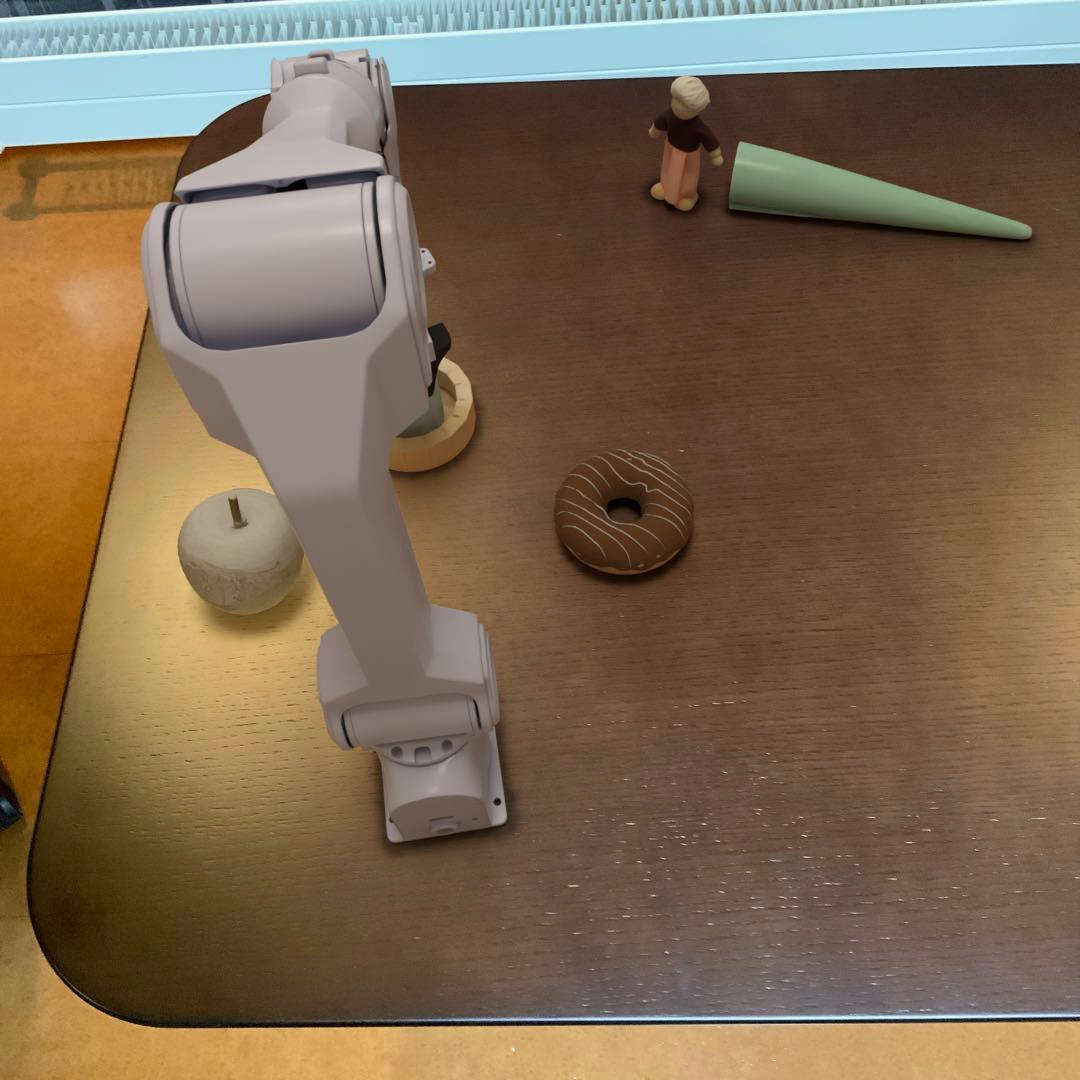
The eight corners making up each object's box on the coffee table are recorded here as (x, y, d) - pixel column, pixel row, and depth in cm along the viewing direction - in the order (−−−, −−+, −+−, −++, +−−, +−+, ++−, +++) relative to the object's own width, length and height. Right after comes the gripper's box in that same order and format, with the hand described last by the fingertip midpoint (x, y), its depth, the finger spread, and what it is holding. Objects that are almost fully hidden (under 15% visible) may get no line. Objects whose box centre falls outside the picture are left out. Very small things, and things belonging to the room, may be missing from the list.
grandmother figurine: (633, 199, 99) (638, 80, 88) (650, 173, 100) (657, 54, 89) (709, 224, 97) (723, 105, 86) (725, 197, 98) (741, 78, 87)
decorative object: (206, 644, 78) (157, 581, 69) (202, 544, 82) (156, 473, 73) (325, 620, 78) (291, 555, 69) (314, 522, 82) (281, 449, 74)
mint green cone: (1051, 213, 88) (732, 168, 92) (1028, 261, 92) (725, 216, 97) (1052, 169, 90) (742, 128, 95) (1030, 218, 95) (735, 177, 99)
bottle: (453, 404, 87) (437, 322, 78) (428, 449, 85) (409, 369, 76) (402, 388, 88) (381, 305, 79) (376, 431, 86) (351, 351, 77)
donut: (583, 603, 78) (582, 578, 74) (535, 491, 83) (533, 463, 79) (715, 558, 79) (721, 531, 76) (660, 451, 84) (663, 421, 81)
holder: (482, 461, 84) (479, 440, 82) (359, 481, 84) (352, 459, 82) (468, 366, 90) (464, 343, 87) (351, 384, 89) (344, 361, 87)
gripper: (467, 277, 66) (487, 409, 77) (382, 141, 72) (412, 281, 84) (362, 318, 64) (399, 445, 76) (286, 175, 71) (330, 312, 83)
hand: (400, 361), depth 80 cm, fingers open, 7 cm apart
